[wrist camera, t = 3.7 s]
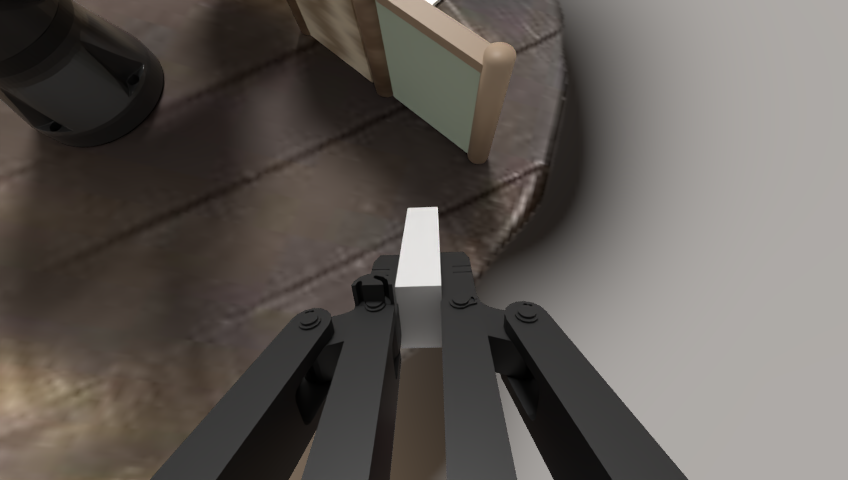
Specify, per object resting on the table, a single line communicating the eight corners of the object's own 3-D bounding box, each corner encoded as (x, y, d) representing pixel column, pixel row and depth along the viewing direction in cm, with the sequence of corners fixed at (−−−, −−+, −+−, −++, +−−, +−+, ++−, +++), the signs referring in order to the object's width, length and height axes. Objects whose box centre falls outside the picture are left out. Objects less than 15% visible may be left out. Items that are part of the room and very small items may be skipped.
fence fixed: (296, 30, 41) (230, -109, 28) (311, 18, 42) (253, -125, 29) (386, 101, 38) (359, -21, 25) (402, 86, 38) (383, -40, 25)
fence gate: (390, 99, 37) (366, -19, 25) (403, 87, 38) (386, -36, 25) (479, 168, 34) (502, 73, 22) (492, 154, 35) (522, 53, 22)
